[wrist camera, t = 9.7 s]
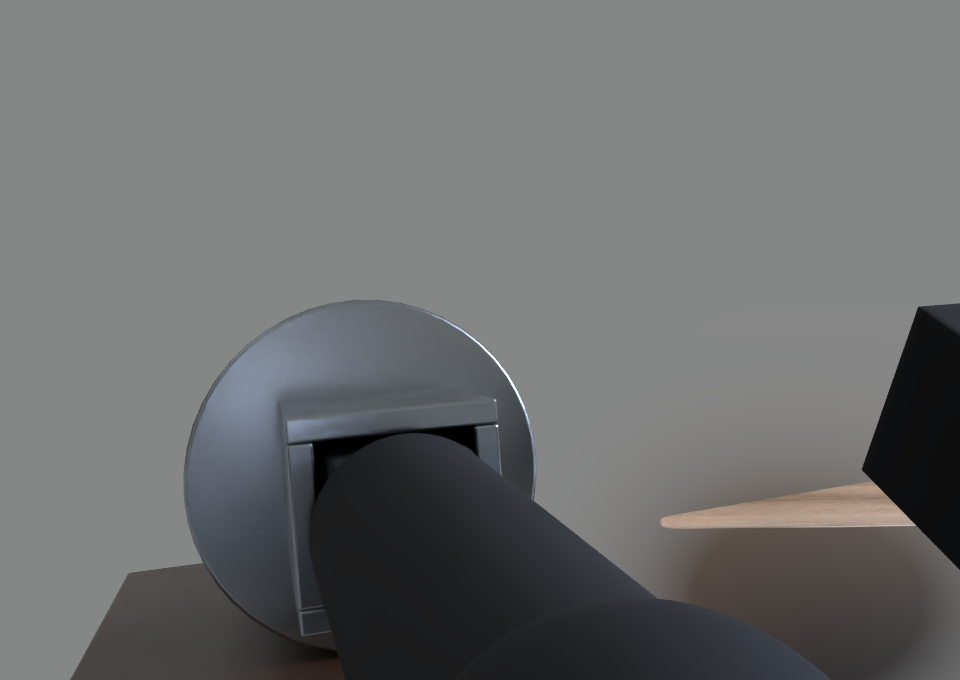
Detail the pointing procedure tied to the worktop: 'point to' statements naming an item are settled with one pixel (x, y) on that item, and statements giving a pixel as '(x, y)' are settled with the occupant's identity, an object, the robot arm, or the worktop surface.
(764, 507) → the worktop surface
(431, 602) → the stopper
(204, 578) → the stand
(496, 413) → the flask
